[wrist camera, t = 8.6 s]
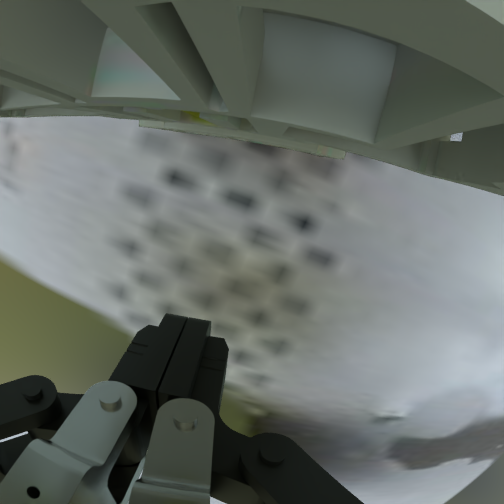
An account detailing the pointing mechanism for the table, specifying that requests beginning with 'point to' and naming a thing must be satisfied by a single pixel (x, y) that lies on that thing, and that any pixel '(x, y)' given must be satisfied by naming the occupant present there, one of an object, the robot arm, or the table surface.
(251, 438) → the robot arm
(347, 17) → the circuit breaker
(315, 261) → the table surface
